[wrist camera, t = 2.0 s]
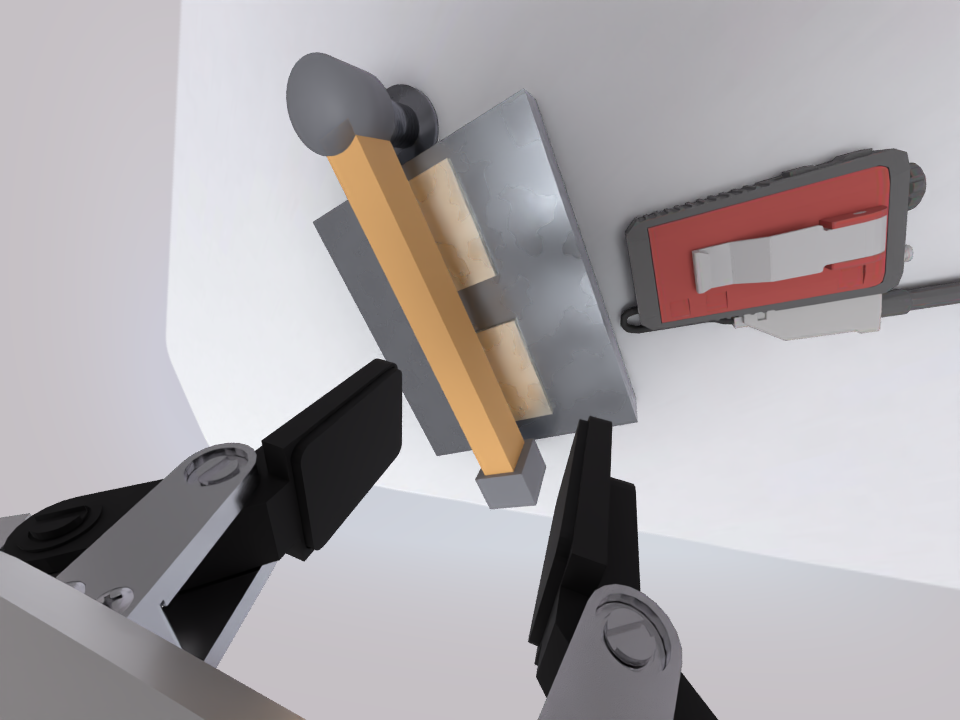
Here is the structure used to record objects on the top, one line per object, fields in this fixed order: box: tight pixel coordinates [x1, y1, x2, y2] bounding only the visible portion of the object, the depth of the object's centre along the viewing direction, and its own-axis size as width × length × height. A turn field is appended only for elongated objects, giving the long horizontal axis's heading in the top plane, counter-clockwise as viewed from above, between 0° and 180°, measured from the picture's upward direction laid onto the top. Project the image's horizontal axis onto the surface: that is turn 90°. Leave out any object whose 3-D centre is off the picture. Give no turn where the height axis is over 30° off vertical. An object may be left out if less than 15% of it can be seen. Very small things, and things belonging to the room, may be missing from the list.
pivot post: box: [386, 84, 438, 166], centre depth 22 cm, size 4×4×4 cm
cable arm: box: [286, 52, 546, 509], centre depth 21 cm, size 26×4×4 cm, turn 24°
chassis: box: [313, 89, 638, 456], centre depth 26 cm, size 16×20×4 cm
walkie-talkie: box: [621, 148, 960, 341], centre depth 18 cm, size 9×4×20 cm
